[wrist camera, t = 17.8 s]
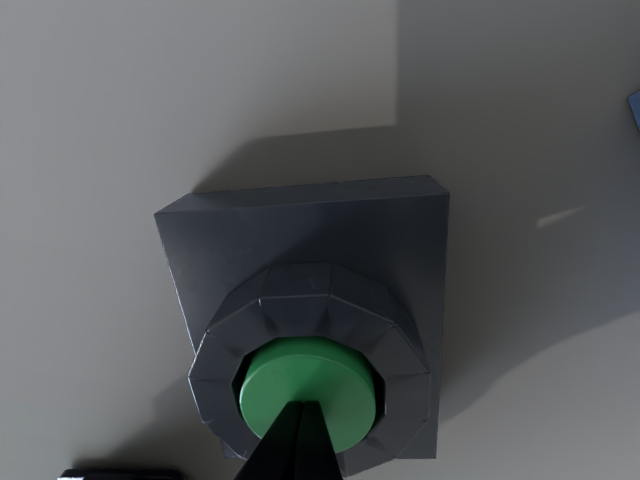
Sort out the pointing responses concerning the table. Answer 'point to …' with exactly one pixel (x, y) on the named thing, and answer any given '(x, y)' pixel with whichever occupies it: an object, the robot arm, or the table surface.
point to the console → (316, 296)
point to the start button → (311, 386)
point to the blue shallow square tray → (635, 106)
